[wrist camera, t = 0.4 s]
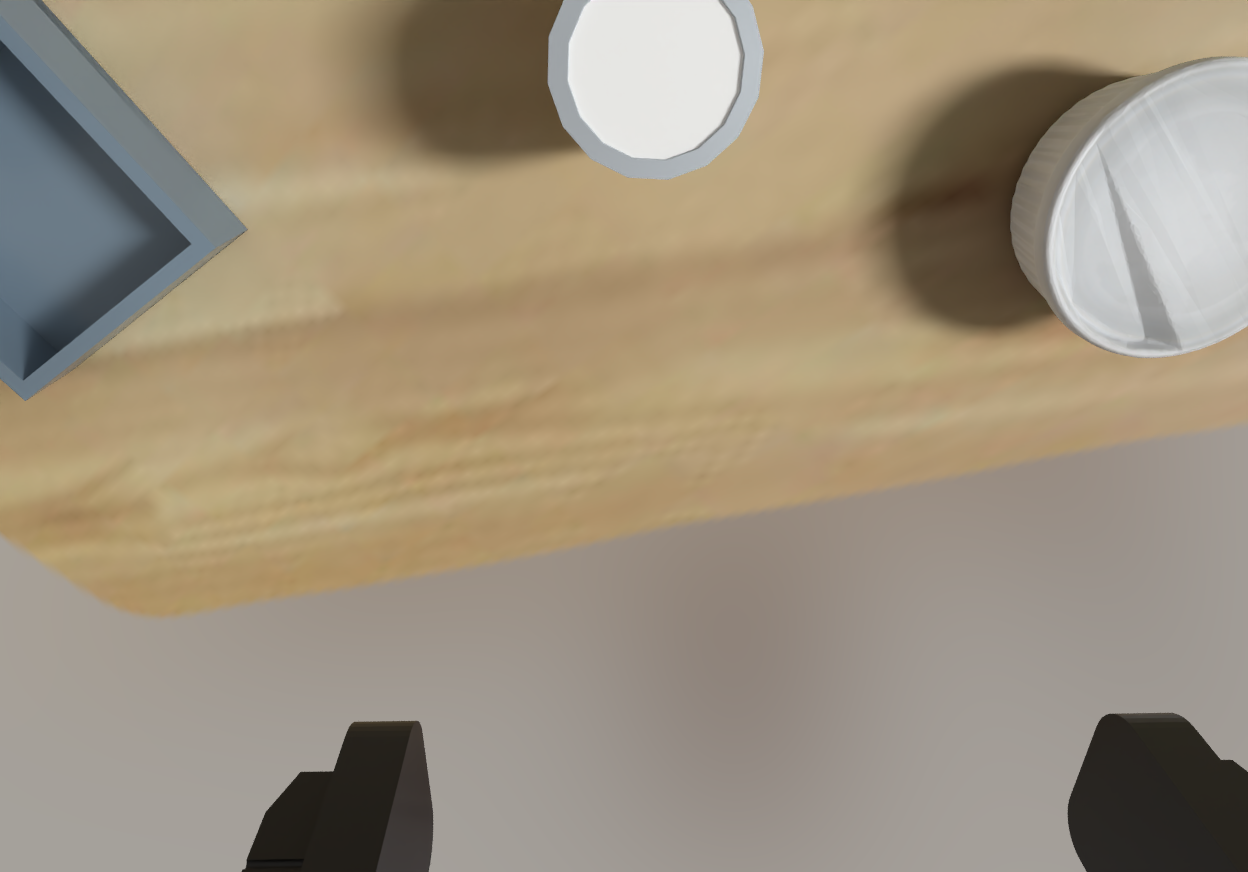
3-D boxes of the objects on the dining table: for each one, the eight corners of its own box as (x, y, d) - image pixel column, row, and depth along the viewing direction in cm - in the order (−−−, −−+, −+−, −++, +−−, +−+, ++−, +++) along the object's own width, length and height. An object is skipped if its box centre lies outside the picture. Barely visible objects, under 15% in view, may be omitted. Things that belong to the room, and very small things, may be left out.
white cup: (606, 189, 35) (617, 220, 28) (513, 28, 32) (502, 23, 26) (754, 98, 34) (800, 109, 27) (671, -76, 31) (701, -109, 25)
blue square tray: (-146, 168, 32) (-223, 180, 29) (38, -4, 30) (-23, -10, 27) (72, 370, 36) (25, 401, 33) (247, 229, 34) (215, 247, 31)
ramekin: (933, 263, 37) (989, 294, 32) (1088, 3, 33) (1178, -5, 28) (1130, 359, 40) (1209, 401, 35) (1295, 128, 36) (1410, 140, 31)
